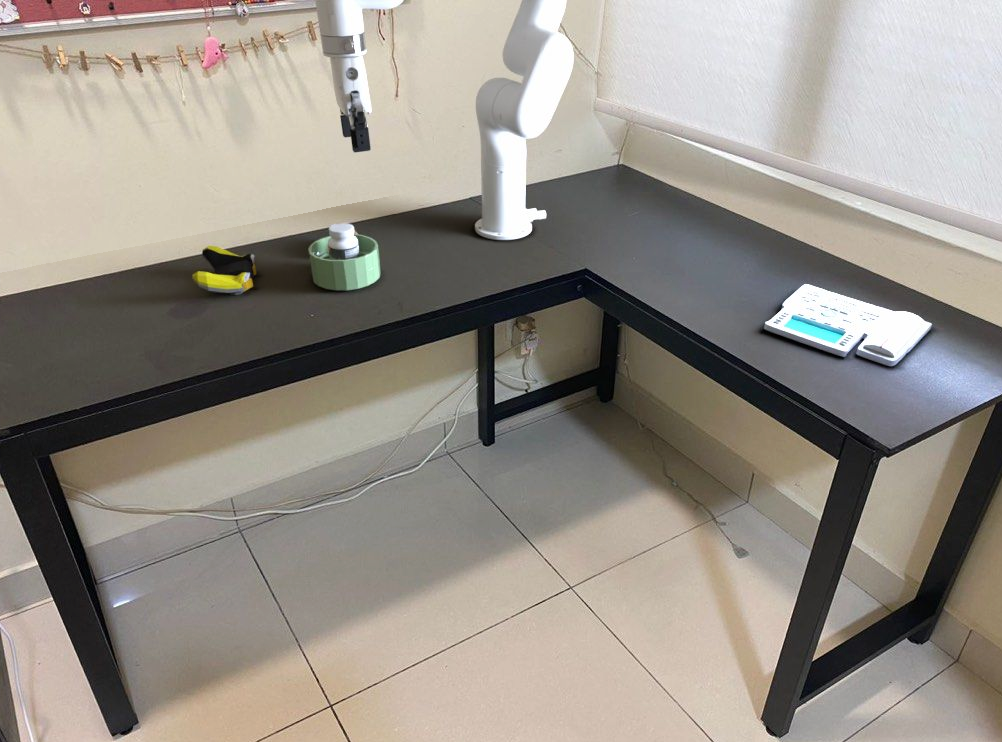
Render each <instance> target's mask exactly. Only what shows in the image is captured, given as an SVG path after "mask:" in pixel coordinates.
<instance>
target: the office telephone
mask: <svg viewBox="0 0 1002 742" xmlns="http://www.w3.org/2000/svg"><path fill="white" fill-rule="evenodd" d="M932 325H933V324H932V323H931V322H928V321H925V320H924V319H923V318H922V317H920V316H919V315H916V314H914V313H913V312H908V311H903V310H902V311H893V310H891V309H887V308H884V307H880V306H877V305H874V304H870V303H867V302H865V301H861V300H857V299H856V298H855V299H854V298H852V297H848V296H845V295H841V294H838V293H835V292H832V291H828V290H826V289H823V288H820V287H817V286H814V285H811V284H807V283H805V284H803V285H802V286H801V287H799V288H798V289H797V290H796V291H795V292H794V293H793V294H791V295H790V296H789V297H788V298H787V299H786V300H785V301H783V303H782V306H781V310H780V311H779V312H778V313H777V314H775V315H774V316H773V317H772V318H771V319H769V320H768V321H765V322H764V327H763V329H764V330H766V331H768V332H769V333H773V334H775V335H779V336H782V337H785V338H788V339H790V340H792V341H796V342H798V343H802V344H804V345H807V346H810V347H813V348H816V349H818V350H821V351H824V352H827V353H830V354H833V355H836V356H840V357H843V358H845V357H847V354H848V353H850V351H851V350H852V349H853V348H854V347H855V346H856V345H857V344H858V343H859V342H860V341H861V340H862V339H864V340H863V341H862V342H861V344H860V345H859V346H858V347H857V350H856V352H855V353H856V355H857V356H859V357H861V358H864V359H868V360H871V361H873V362H876V363H879V364H881V365H883V366H888V367H894V366H896V365H897V364H898V363H899V362H900V361H901V360H902V359H903V358H905V356H906V354H908V353H909V352H911V350H913V348H914V347H915V346H916V345H917V344H918V343H919V342H920V341H921V339H923V338H924V336H926V335H927V333H928V332H929V331H930V330H931V328H932Z"/></svg>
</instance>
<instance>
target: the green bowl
mask: <svg viewBox="0 0 1002 742" xmlns="http://www.w3.org/2000/svg"><path fill="white" fill-rule="evenodd" d="M354 236H355V237H356V238H357V240H358V246H359V255H360V257H358V258H354V259H347V260H330V256H329V248H328V240H329V239H330V238H331V236H330V235H327V236H324V237H322V238H319V239H316V240H315V241H314V242H312V243H311V244H310V245H309V247H308V250H307V251H308V258H309V264H310V270H311V271H310V272H311V277H312V281H313V283H314V284H315V285H316V286H317V287H320V288H322V289H325V290H331V291H352V290H358V289H362V288H365V287H368V286H370V285H371V284H374V283H375V282H377V281H378V280H379V279H380V277H381V262H380V251H379V244H378V242H377V240H375V239H374V238H372V237H371V236H367V235H364V234H358V233H357V234H354Z"/></svg>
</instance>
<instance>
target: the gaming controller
mask: <svg viewBox="0 0 1002 742" xmlns="http://www.w3.org/2000/svg"><path fill="white" fill-rule="evenodd" d="M201 255H202V258H203V259H204V261H206V263H207V264H208V265H209V266H210V267H211V269H212V270H213V271H214V272H213V273H211V272H208V271H200V270H198V271H196V272H194V273H192V277H191V278H192V282H193V283H194V284H195V285H196V286H197V287H199V288H201V289H202V290H203V291H206V292H209V293H211V294H230V295H231V296H239V295H242V294H244V292H246V291H248V290H250V289H251V288H253V287H254V279H255V276H256V275H257V270H256V265H255V264H254V262H255V254H251V253H245V254H244V255H238V254H236V253H233V252H232V251H229V250H227V249H224V248H222V247H220V246H215V245H208V246H206V247H205V248H203V249H202V252H201Z"/></svg>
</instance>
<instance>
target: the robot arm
mask: <svg viewBox="0 0 1002 742" xmlns="http://www.w3.org/2000/svg"><path fill="white" fill-rule="evenodd" d="M404 1H405V0H315V8H316V15H317V21H318V28H319V35H320V42H321V49H322V55H323V56H324V57H327V58H329V60H330V68H331V76H332V82H333V89H334V96H335V101H336V104H337V107H338V108H339V112H340V116H339V117H340V124H341V131H342V136H343V138H350V141H351V149H352V152H353V153H362V152H370V151H371V150H372V149H371V147H372V146H371V140H370V139H371V138H370V132H369V126H368V122H367V118H366V114H367V115H371V114H372V111H373V110H372V103H371V97H370V90H369V84H368V78H367V71H366V66H365V62H364V57H363V55H365V54H367V52H368V51H367V44H366V42H367V41H366V35H365V27H364V25H365V24H364V18H363V10H390V9H394V8H396V7H398V6H399V5H401V4H402V3H403V2H404ZM566 5H567V0H521V2H520V5H519V8H518V11H517V13H516V15H515V18H514V20H513V23H512V25H511V27H510V30H509V32H508V35H507V37H506V40H505V41H504V42H505V43H504V44H503V45H504V47H503V49H502V62H503V64H504V66H505V68H507V69H508V70H509V71H510V72H511V73H513V74H516V75H517V76H520V77H523V78H522V81H521V82H519V81H516V80H513V79H510V78H507V77H492V78H490V79H488V80H486V81H485V82H484V83H483V84H481V87H480V88H479V89H478V91H477V94H476V98H475V116H476V120H477V126H478V131H479V139H480V140H479V141H480V176H481V178H480V180H481V182H480V184H481V185H480V186H481V218H480V219H478V220H477V221H476V222H475V224H474V230H475V232H476V234H478V235H479V236H481V237H483V238H485V239H490V240H495V241H512V240H513V241H514V240H518V239H522V238H524V237H526V236H529V234H531V232H532V231H533V224H532V223H533V221H534V220H538V221H540V220H546V219H547V212H546V210H545V209H543V210H537V208H536V207H534V208H527V207H526V188H527V187H526V184H527V183H526V182H527V181H526V180H527V179H526V178H527V176H526V175H527V143H526V140H530V139H531V140H532V139H535V138H537V137H539V136H540V135H541V134H542V133H543V132H544V131H545V130H546V129H547V127H548V125H549V124H550V122H551V120H552V118H553V115H554V113H555V111H556V109H557V106H558V104H559V102H560V100H561V97H562V95H563V93H564V90H565V89H566V86H567V84H568V81H569V79H570V76H571V73H572V71H573V66H574V49H573V45H572V44H571V41H570V39H568V37H567V36H566V35H565V34H563V33H561V32H559V31H558V30H559V27H560V24H561V22H562V18H563V16H564V14H565V11H566V10H565V9H566Z"/></svg>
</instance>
